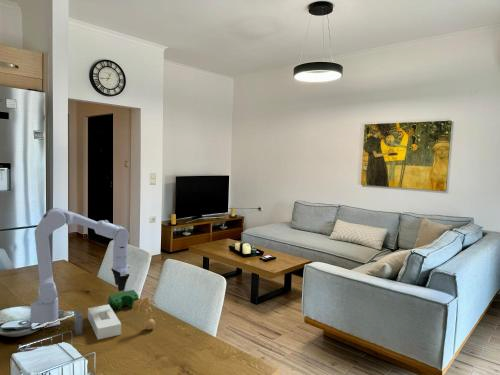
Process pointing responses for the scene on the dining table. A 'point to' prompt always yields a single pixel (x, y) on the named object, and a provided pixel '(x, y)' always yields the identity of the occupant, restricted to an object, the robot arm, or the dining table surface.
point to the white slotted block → (104, 321)
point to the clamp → (122, 299)
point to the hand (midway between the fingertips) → (119, 287)
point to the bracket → (78, 322)
